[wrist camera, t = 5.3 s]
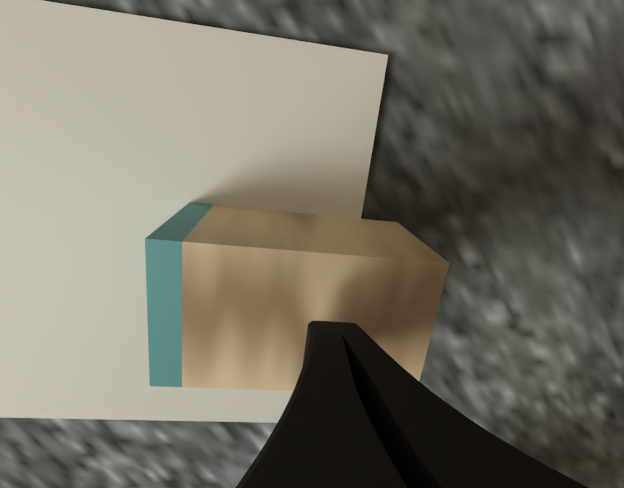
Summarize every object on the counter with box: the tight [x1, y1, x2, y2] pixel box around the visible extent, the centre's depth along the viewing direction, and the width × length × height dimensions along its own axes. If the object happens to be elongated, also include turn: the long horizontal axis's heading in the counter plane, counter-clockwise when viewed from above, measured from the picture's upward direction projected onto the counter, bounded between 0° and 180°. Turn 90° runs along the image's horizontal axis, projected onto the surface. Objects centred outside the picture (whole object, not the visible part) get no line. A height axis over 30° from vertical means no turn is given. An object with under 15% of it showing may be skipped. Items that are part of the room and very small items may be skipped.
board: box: [0, 0, 388, 423], centre depth 15 cm, size 18×18×1 cm
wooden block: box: [145, 202, 450, 391], centre depth 13 cm, size 5×5×9 cm
